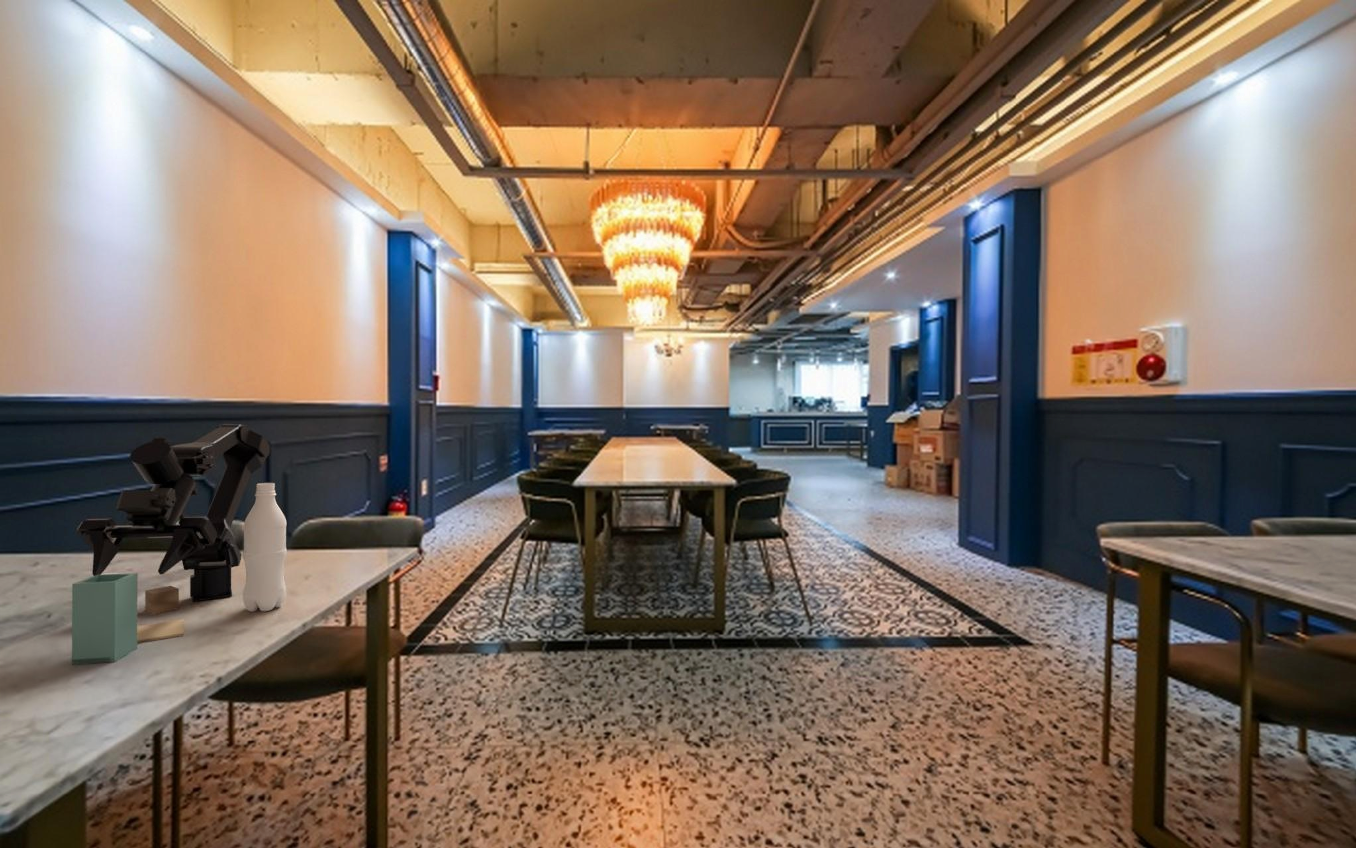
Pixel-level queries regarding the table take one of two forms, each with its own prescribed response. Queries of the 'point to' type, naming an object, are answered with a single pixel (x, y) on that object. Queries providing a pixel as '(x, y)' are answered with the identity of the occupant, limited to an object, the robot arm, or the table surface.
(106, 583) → the pot
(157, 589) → the walnut block
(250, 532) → the water bottle
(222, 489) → the robot arm
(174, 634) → the coaster
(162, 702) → the table surface
